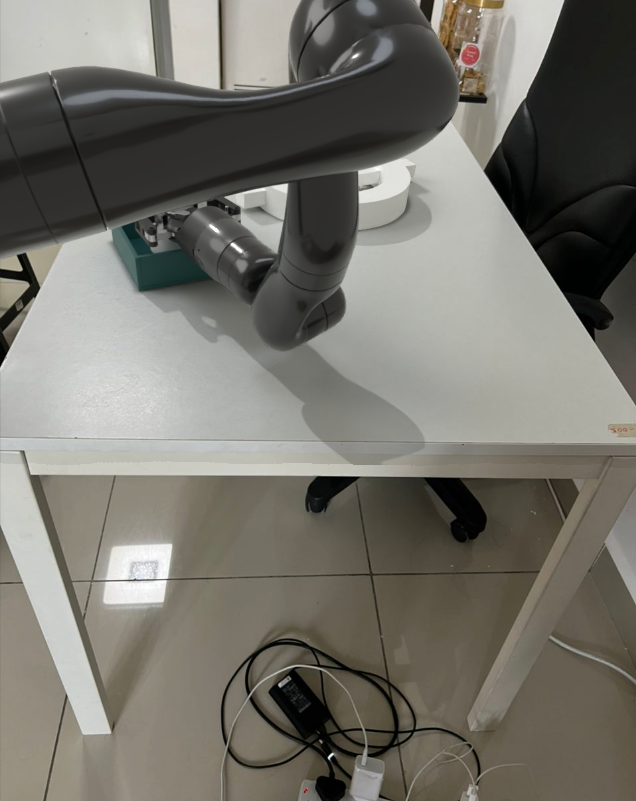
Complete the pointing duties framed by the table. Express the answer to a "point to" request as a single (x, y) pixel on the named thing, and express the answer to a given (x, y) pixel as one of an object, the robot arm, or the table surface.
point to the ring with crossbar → (373, 203)
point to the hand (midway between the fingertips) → (161, 198)
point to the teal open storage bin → (153, 261)
